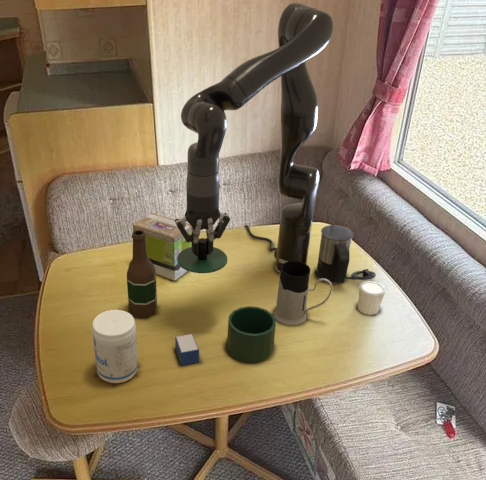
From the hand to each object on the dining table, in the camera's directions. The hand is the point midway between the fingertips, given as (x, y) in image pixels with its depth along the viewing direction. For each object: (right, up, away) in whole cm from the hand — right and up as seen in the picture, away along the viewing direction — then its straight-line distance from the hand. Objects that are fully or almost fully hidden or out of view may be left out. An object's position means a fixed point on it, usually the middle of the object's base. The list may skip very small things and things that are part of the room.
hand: (202, 253), depth 136 cm
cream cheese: (-4, -25, -1) cm, 25 cm away
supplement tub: (-20, -28, -5) cm, 35 cm away
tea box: (-12, -3, +33) cm, 35 cm away
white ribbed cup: (+46, -15, +17) cm, 51 cm away
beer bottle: (-16, -15, +15) cm, 26 cm away
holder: (+26, -17, +13) cm, 34 cm away
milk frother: (+42, -6, +30) cm, 52 cm away
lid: (0, -1, +1) cm, 2 cm away
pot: (+12, -23, +2) cm, 26 cm away
